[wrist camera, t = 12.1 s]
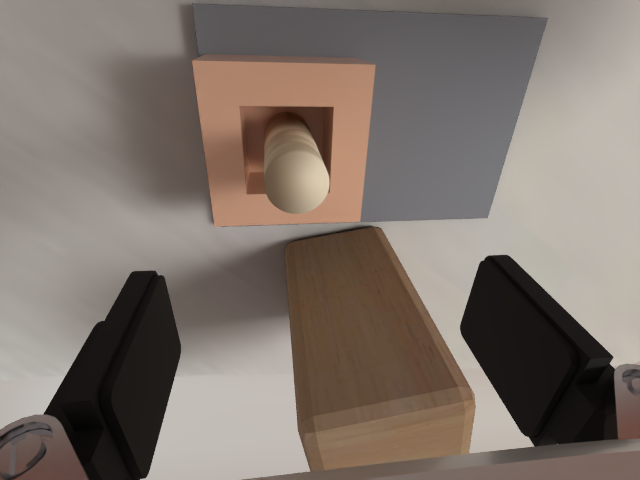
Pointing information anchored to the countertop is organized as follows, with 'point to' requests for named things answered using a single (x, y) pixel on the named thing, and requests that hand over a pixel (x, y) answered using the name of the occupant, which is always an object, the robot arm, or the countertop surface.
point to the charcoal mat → (408, 94)
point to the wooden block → (369, 358)
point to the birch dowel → (293, 165)
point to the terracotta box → (265, 102)
